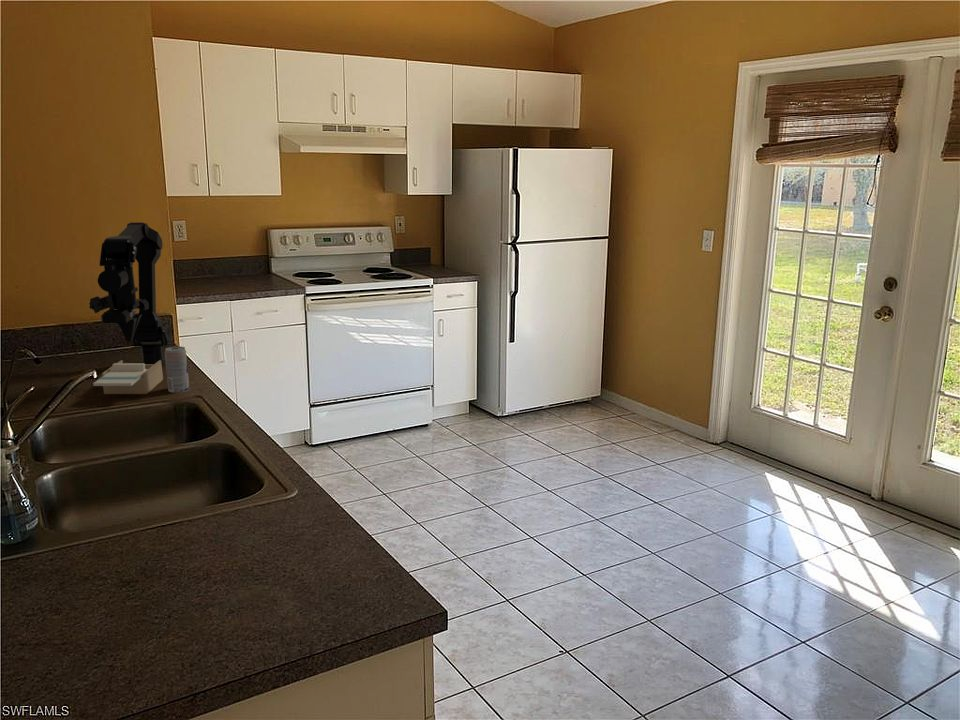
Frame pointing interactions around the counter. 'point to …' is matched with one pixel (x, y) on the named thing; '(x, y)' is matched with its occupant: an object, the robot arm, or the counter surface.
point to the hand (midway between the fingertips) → (129, 341)
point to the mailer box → (142, 385)
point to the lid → (122, 375)
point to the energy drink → (176, 369)
